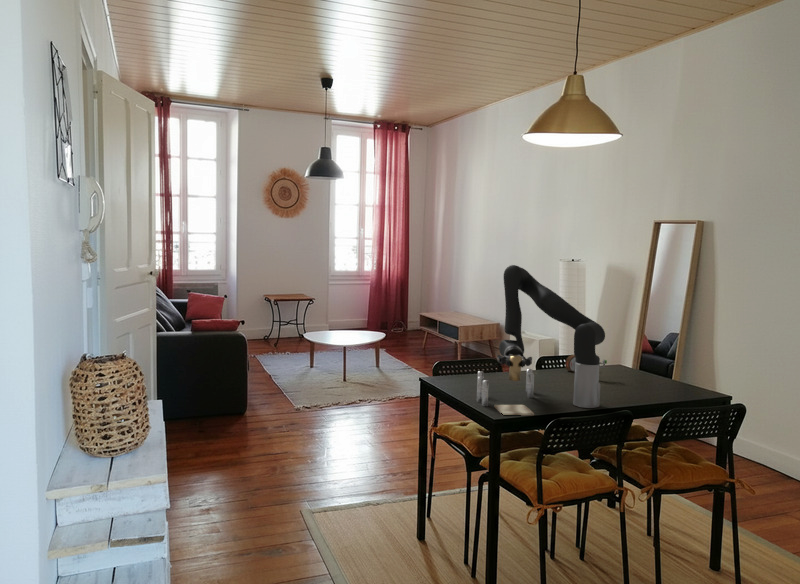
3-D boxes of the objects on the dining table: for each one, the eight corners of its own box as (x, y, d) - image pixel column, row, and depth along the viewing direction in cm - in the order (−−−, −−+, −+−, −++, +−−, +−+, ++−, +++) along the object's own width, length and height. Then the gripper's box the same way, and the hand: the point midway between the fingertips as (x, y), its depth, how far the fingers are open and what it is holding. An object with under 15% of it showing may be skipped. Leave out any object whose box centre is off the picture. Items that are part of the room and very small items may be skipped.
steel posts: (530, 391, 265) (531, 368, 264) (550, 406, 242) (551, 381, 241) (467, 391, 261) (468, 368, 260) (481, 406, 238) (482, 381, 237)
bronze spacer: (518, 378, 234) (519, 355, 234) (522, 381, 230) (523, 357, 229) (507, 378, 234) (508, 355, 233) (510, 380, 230) (512, 357, 229)
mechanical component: (605, 381, 290) (607, 360, 289) (583, 379, 292) (584, 358, 291) (605, 379, 292) (606, 359, 292) (582, 378, 294) (584, 357, 294)
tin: (584, 369, 317) (585, 353, 316) (589, 370, 314) (590, 354, 314) (564, 371, 309) (565, 355, 308) (569, 372, 306) (569, 356, 306)
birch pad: (523, 406, 240) (523, 404, 239) (534, 415, 228) (534, 413, 228) (494, 406, 238) (494, 404, 238) (503, 415, 226) (503, 413, 226)
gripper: (496, 345, 246) (497, 353, 229) (532, 347, 244) (535, 355, 227) (495, 363, 247) (496, 372, 230) (531, 365, 245) (534, 375, 228)
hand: (516, 364), depth 229 cm, fingers closed on bronze spacer, 4 cm apart
